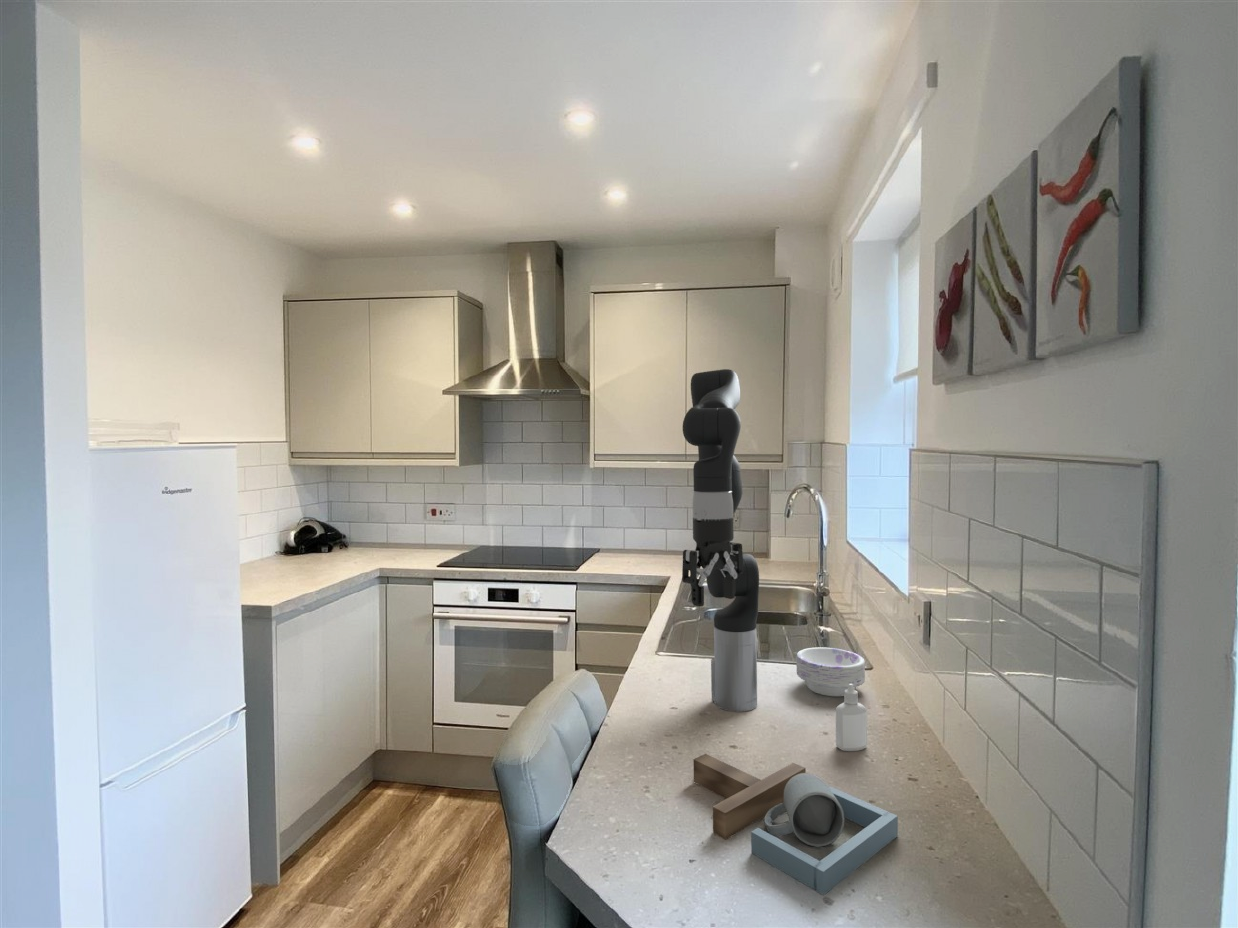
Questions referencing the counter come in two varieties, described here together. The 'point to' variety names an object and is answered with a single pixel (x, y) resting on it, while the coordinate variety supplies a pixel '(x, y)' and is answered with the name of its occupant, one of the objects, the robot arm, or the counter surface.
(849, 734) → the eye dropper bottle
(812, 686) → the paper bowls
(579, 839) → the counter surface
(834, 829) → the ceramic mug
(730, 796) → the scraper
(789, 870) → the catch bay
